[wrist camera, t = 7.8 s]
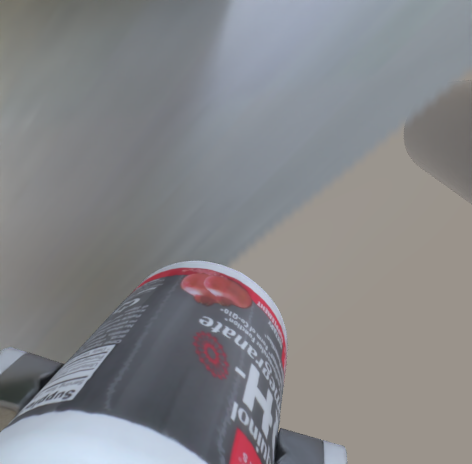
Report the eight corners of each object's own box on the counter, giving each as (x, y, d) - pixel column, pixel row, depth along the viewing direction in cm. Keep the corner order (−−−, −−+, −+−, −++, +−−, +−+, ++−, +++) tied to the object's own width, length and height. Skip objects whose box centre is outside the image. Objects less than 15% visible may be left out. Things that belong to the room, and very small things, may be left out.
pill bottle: (326, 339, 13) (345, 982, 4) (214, 424, 15) (43, 978, 5) (197, 219, 12) (-165, 610, 3) (99, 324, 14) (-299, 751, 5)
